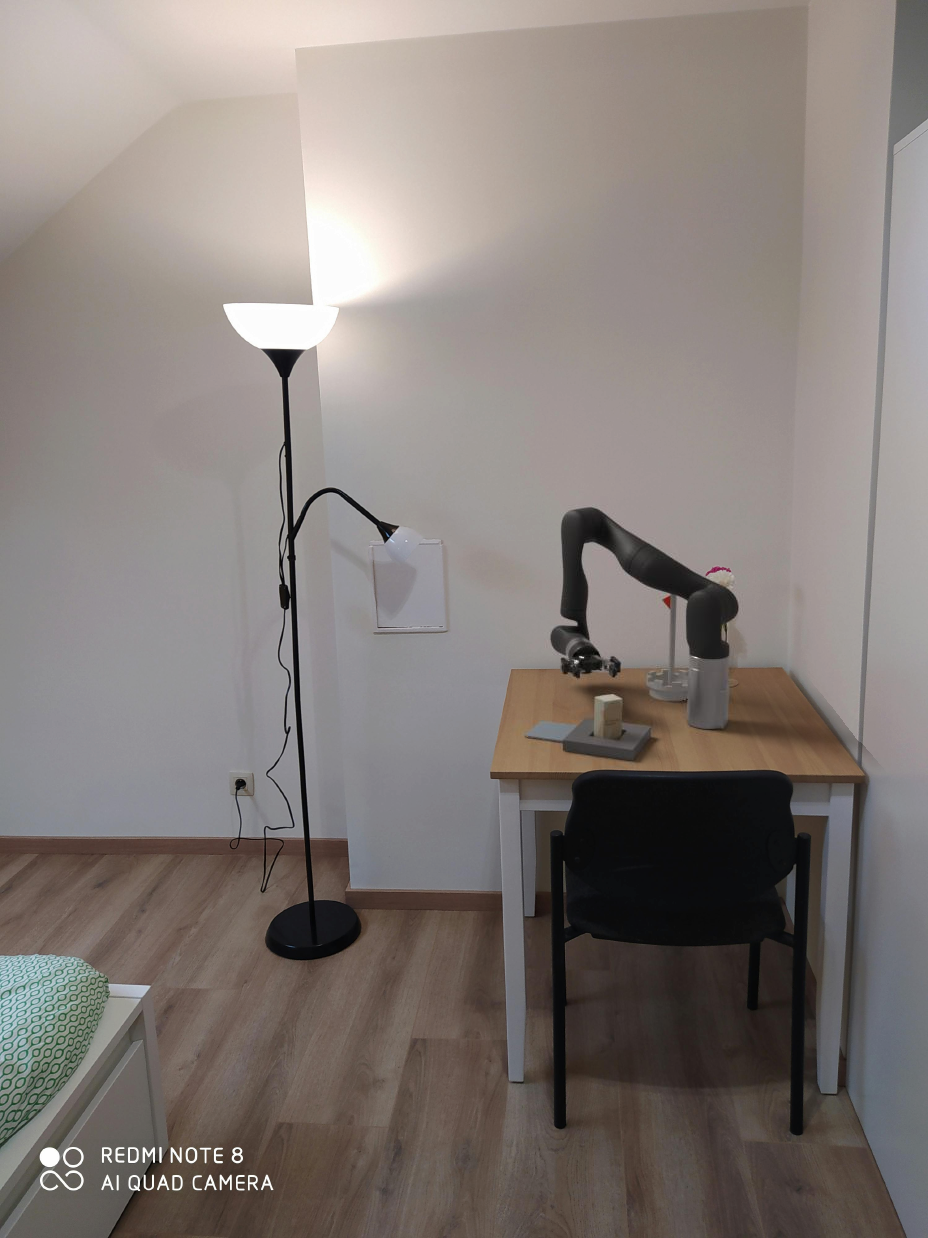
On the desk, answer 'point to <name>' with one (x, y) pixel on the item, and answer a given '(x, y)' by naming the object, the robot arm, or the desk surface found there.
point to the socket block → (607, 741)
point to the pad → (551, 731)
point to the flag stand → (667, 681)
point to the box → (608, 717)
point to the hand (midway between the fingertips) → (596, 674)
